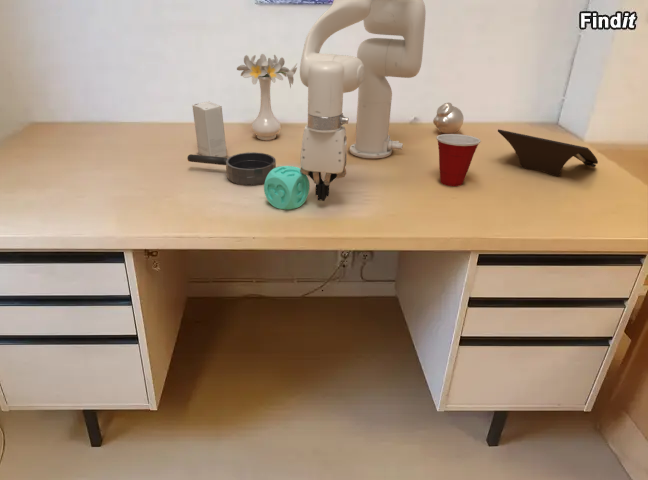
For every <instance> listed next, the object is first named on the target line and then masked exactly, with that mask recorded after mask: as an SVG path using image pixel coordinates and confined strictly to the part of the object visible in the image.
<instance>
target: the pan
mask: <svg viewBox="0 0 648 480" xmlns="http://www.w3.org/2000/svg"><path fill="white" fill-rule="evenodd" d="M276 160H277V159H276V158H275V157H274V156H273V155H271V154H269V153H264V152H256V151H255V152H252V151H251V152H249V151H248V152H242V153H236V154H233V155H231V156H228V157H227V160H226V165H225V171H226V178H227V179H228V180H229V181H230V182H231V183H233V184H236V185H240V186H260V185H264V183H265V180H266V177H267V175H268V174H269V172H270V171H271V170H272V169H274V168H276V167H277V161H276Z"/></svg>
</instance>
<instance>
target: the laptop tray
mask: <svg viewBox="0 0 648 480" xmlns="http://www.w3.org/2000/svg"><path fill="white" fill-rule="evenodd" d="M497 132H498V133H499V134H500V135H501V136H502V137H503V138H504V139H505V140H506V142H508V144H510V146H511V147H512V149H513V150H514V152H515V154H516V156H517V158H518V161H519V165H520V167H521V168H522V169H525V170H533V171H539V172H543V173H546V174H549V175H552V176H555V177H560V175H561V173H562V170H563V168H564V166H565V165H566V164H567V162H568V161H570V160H571V159H572V158H573V157H574V158H576V159H577V160H578V161H580V162H582V163H583V165H585V166H588V167H591V168H596V166H597V165H598V164H599V161H598V158H597V157H596V155H595V153H593V152H592V151H591V149H590V148H589V147H586V146H581V145H576V144H572V143H567V142H561V141H558V140H552V139H549V138H548V139H547V138H543V137H538V136H534V135H533V136H532V135H528V134H523V133H518V132H515V131H508V130H503V129H499V128H498V129H497Z"/></svg>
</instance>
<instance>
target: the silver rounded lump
mask: <svg viewBox="0 0 648 480" xmlns="http://www.w3.org/2000/svg"><path fill="white" fill-rule="evenodd" d="M432 123H433V125H434V126H435V127H436V129H437V130H438V131H439V132H440V133H441V134H442V135H443V134H456V133H458V131H459V130H460V129H461V128H462V127H463V124H464V114H463V112H462V111H461V110H460V108H459V107H457V106H454V105H453V104H452V102H445V103H443V104H441V105H440V106H439V107H438V108H437V110H436V115H435V116H434V117H433V119H432Z"/></svg>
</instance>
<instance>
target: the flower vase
mask: <svg viewBox="0 0 648 480" xmlns="http://www.w3.org/2000/svg"><path fill="white" fill-rule="evenodd" d="M256 58H257V56H256V54H254V55H253V56H251V58H250V57H249V55H248V54H246V55H244V57H243V63H244V64H241V65H238V66H237V67H236V71H241V73H240V77H243V78H244V79H249V78H251V83H252V85H256V84H257V83H258V82H259V83H258V84H259V89H260V108H259V112H258V115H257V116H256V117H255V119H254V120H253V121H252V124H251V130H252V132H253V134H255V135H256V138H257V139H258V140H261V141H271V140H274V139H276V138H277V135H278V134H279V133H280V131H281V130H282V129H281V128H282V126H281V123H280V121H279V119H278V118H277V117H276V116H275V115H274V112H273V110H272V109H273V108H272V102H271V100H272V99H271V84H272V83H276V82H277V81H276V80H279V81H284V77H285V78H287V80H288V85H289V88H290V89H291V88H292V85H294V75H295V74H296V72H297V71H298V67H297V65H298V63H295V65H294V66H293V67H292V68H291V69H289V68H288V67H287V66H284V65H285V58H284V57H279V58H278V56H277V55H276V54H273V59H272V58H271V57H268V58H267V56H266V55H265V54H264V53H261V54H260V55H259V58H258V59H257V60H256ZM283 76H284V77H283Z"/></svg>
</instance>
